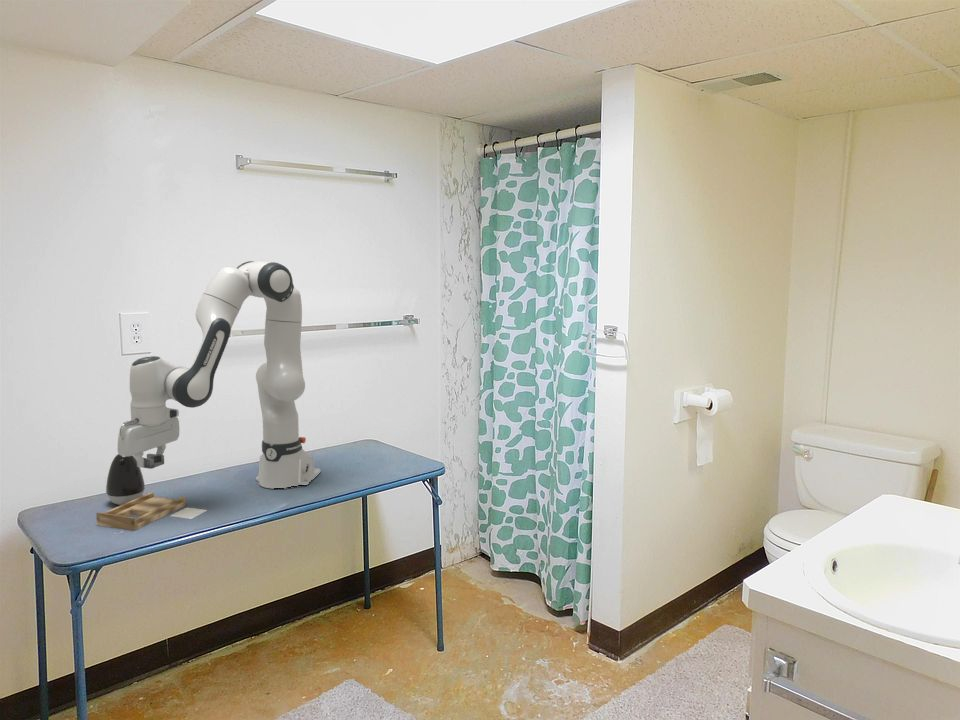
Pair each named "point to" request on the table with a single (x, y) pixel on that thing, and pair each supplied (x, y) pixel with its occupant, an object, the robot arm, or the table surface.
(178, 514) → the white square plate
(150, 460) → the clip
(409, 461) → the table surface
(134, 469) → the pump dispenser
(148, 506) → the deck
